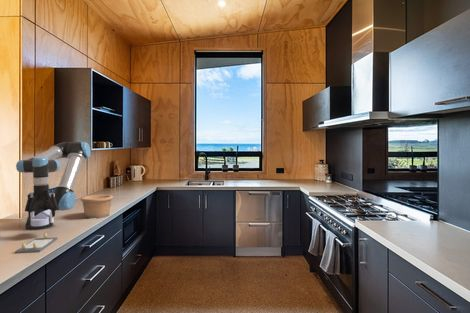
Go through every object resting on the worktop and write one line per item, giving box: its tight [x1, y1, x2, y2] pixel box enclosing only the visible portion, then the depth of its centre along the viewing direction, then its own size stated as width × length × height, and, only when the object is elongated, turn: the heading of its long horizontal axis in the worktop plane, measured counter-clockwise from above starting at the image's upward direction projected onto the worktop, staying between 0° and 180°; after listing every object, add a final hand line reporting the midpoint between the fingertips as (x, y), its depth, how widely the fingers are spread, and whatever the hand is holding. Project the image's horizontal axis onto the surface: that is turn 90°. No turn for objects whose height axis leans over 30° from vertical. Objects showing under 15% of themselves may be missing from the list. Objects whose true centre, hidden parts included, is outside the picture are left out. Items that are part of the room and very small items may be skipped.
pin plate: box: [14, 232, 59, 254], centre depth 159 cm, size 21×11×4 cm, turn 9°
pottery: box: [80, 194, 114, 219], centre depth 227 cm, size 22×22×14 cm
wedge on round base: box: [31, 210, 57, 226], centre depth 177 cm, size 9×7×13 cm
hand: (42, 222), depth 177 cm, fingers closed on wedge on round base, 10 cm apart
